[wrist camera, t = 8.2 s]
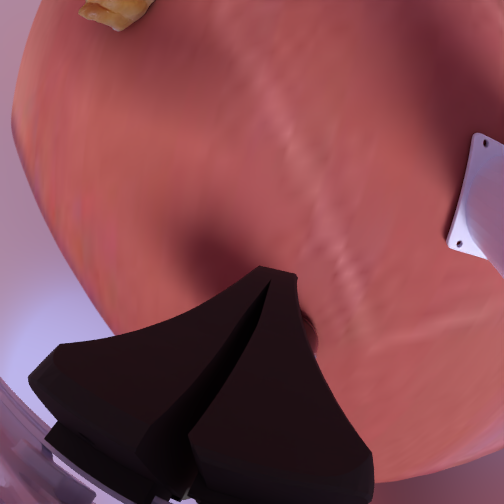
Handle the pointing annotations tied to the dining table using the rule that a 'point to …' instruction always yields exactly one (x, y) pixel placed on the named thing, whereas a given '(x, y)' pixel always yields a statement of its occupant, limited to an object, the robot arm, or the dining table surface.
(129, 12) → the pastry
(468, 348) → the dining table surface
